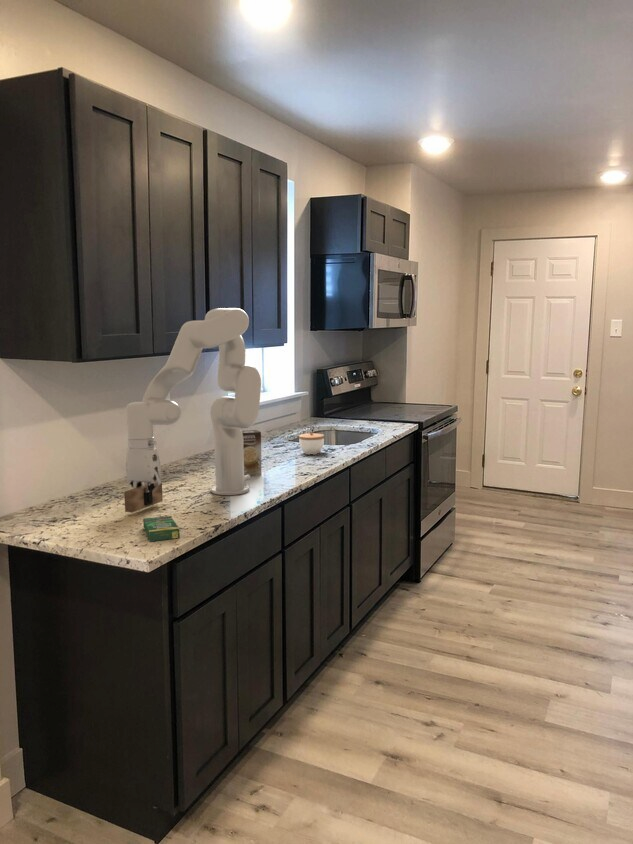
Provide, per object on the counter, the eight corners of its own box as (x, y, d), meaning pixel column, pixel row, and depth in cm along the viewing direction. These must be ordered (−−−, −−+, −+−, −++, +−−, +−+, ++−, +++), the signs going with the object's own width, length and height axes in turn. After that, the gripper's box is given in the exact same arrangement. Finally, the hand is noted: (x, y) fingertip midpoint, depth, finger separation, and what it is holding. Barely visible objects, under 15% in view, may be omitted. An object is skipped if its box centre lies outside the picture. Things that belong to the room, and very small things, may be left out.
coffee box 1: (172, 514, 189) (179, 528, 177) (173, 524, 189) (180, 538, 177) (143, 517, 186) (148, 531, 174) (143, 527, 186) (148, 542, 174)
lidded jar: (315, 456, 281) (315, 434, 280) (294, 454, 287) (293, 432, 286) (328, 452, 290) (328, 430, 289) (307, 449, 296) (307, 428, 295)
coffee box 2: (237, 477, 246) (236, 433, 244) (233, 473, 252) (232, 430, 250) (262, 474, 249) (261, 431, 247) (257, 471, 255) (256, 429, 253)
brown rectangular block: (156, 500, 210) (155, 481, 210) (162, 501, 209) (161, 482, 209) (125, 511, 198) (124, 491, 197) (131, 512, 197) (130, 492, 196)
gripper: (171, 443, 201) (173, 503, 203) (128, 439, 208) (132, 498, 210) (154, 447, 194) (157, 510, 197) (111, 443, 201) (115, 504, 204)
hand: (144, 503), depth 204 cm, fingers closed on brown rectangular block, 2 cm apart
